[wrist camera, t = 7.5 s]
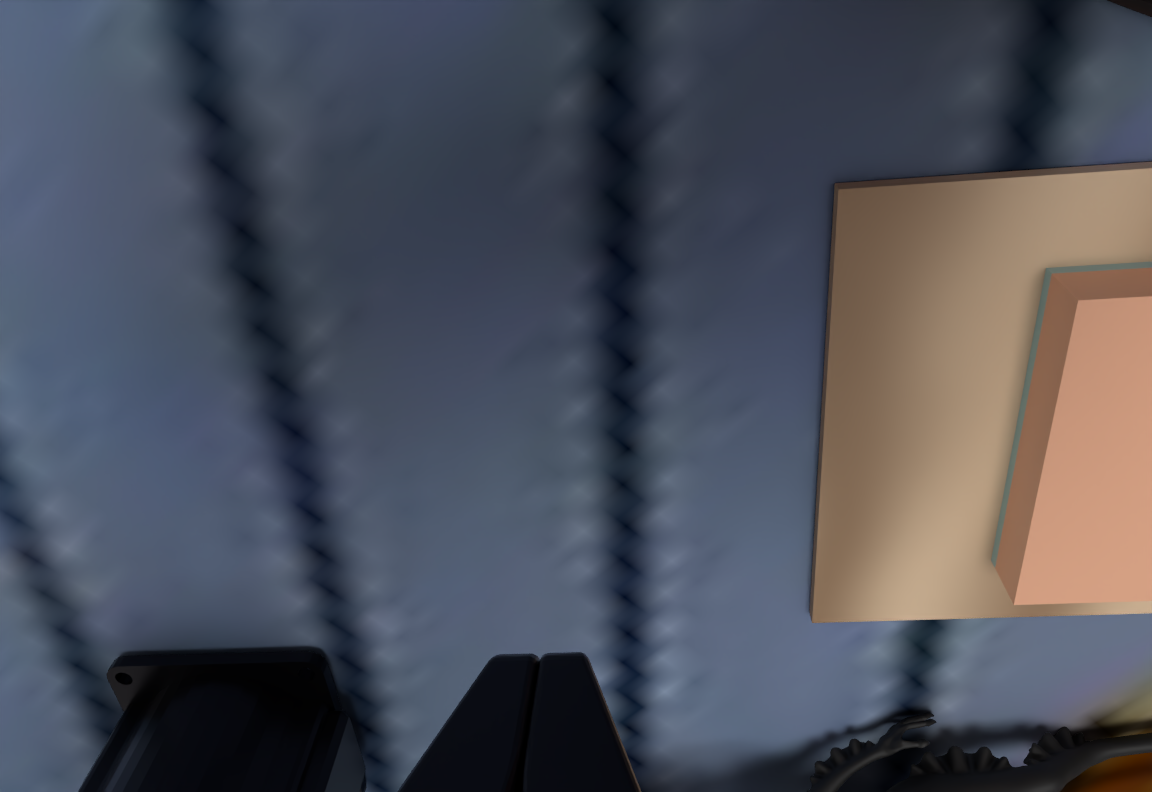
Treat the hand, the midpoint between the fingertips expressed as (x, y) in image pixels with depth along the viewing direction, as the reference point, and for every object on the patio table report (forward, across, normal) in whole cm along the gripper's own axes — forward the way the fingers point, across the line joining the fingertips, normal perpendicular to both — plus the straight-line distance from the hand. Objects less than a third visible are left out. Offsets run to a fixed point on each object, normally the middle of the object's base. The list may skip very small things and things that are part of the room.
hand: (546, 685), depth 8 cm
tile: (+12, -9, +6) cm, 16 cm away
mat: (+13, -12, +6) cm, 19 cm away
